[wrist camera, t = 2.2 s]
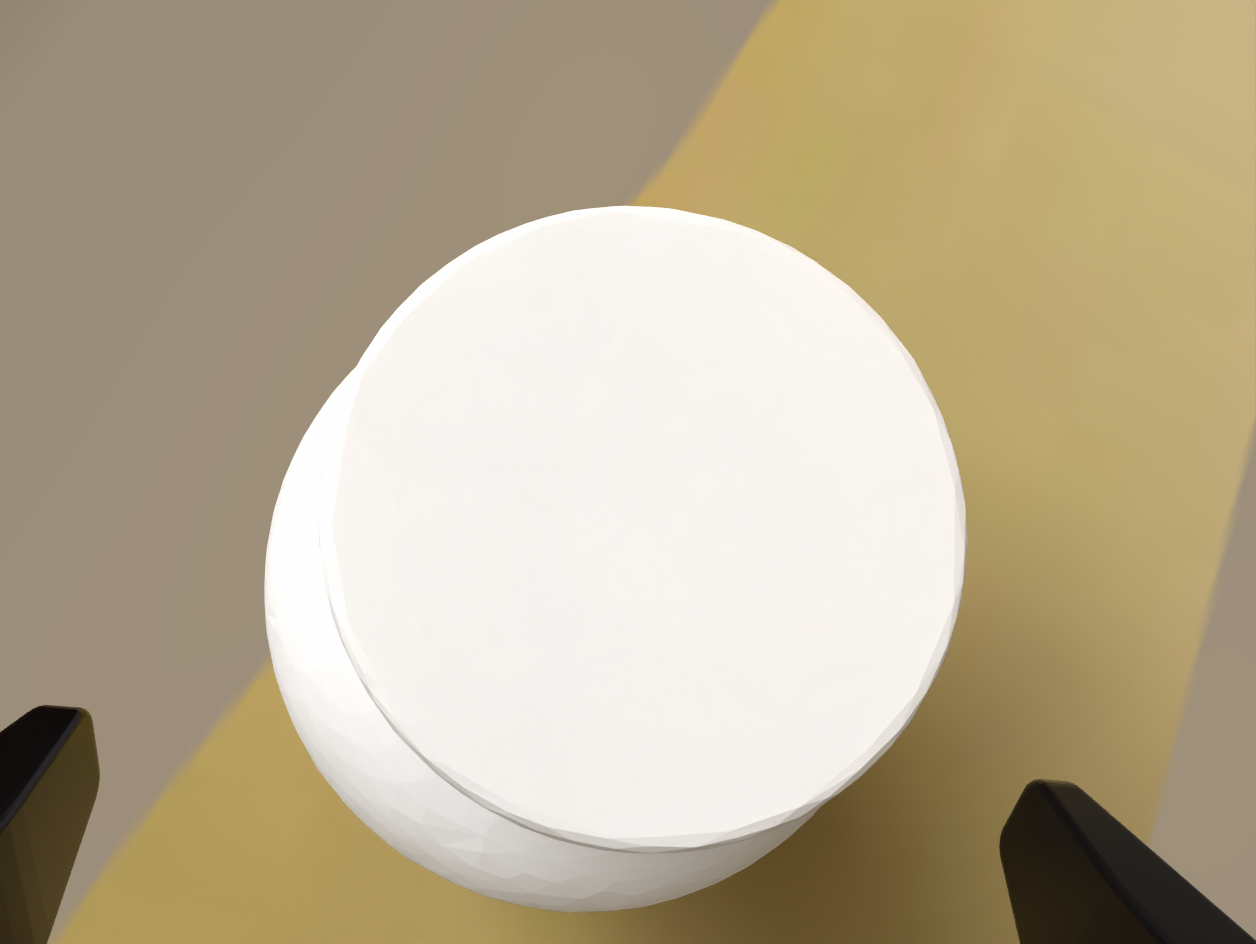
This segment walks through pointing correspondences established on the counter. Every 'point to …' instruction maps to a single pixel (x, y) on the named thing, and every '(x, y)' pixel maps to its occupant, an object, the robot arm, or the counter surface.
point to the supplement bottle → (614, 559)
